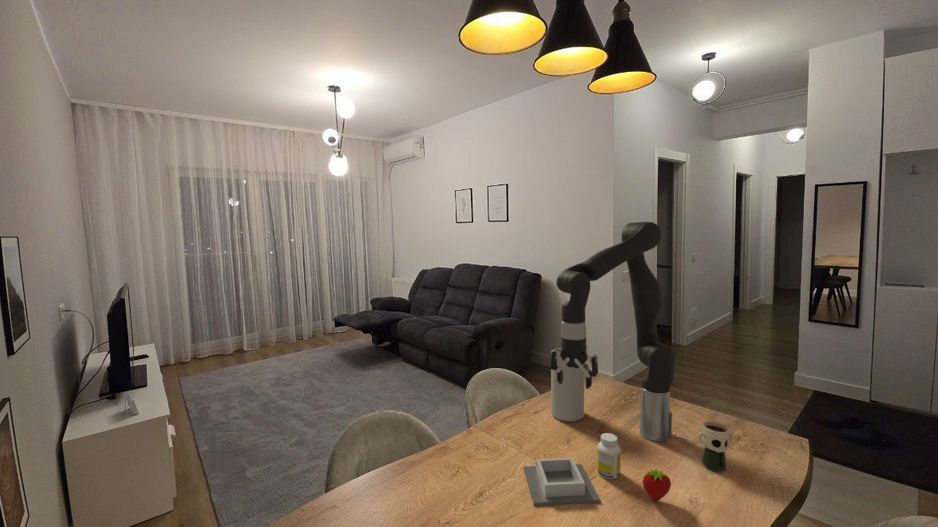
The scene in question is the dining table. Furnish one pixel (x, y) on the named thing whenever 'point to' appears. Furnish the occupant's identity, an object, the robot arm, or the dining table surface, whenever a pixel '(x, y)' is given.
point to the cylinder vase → (567, 393)
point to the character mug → (715, 444)
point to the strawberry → (656, 484)
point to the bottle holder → (559, 482)
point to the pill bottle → (609, 456)
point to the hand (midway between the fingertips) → (574, 385)
